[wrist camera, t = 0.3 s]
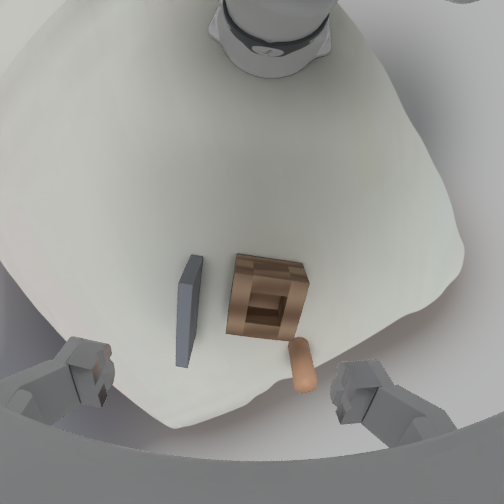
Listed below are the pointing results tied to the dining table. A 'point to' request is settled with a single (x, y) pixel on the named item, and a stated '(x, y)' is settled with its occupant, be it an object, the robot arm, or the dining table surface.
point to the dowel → (302, 366)
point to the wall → (187, 310)
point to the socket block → (266, 298)
